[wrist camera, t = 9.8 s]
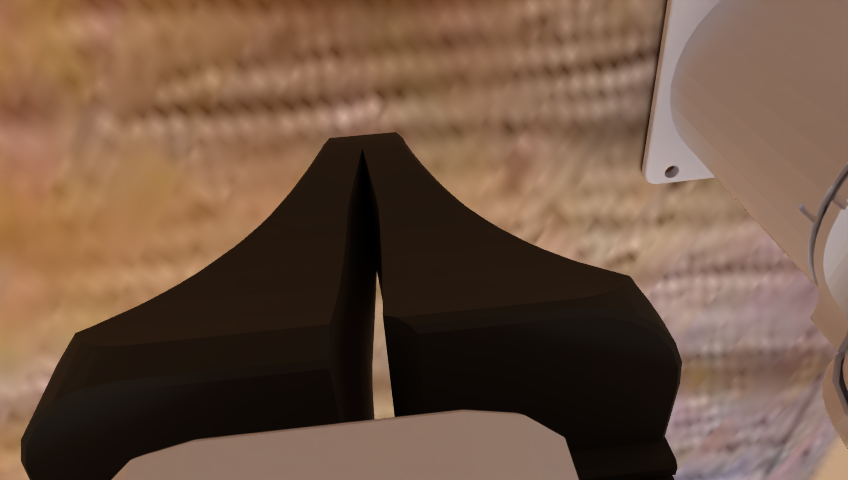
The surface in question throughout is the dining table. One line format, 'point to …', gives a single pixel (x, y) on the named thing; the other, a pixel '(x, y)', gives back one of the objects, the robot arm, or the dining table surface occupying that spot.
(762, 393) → the dining table surface
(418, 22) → the dining table surface
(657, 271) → the dining table surface
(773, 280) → the dining table surface
